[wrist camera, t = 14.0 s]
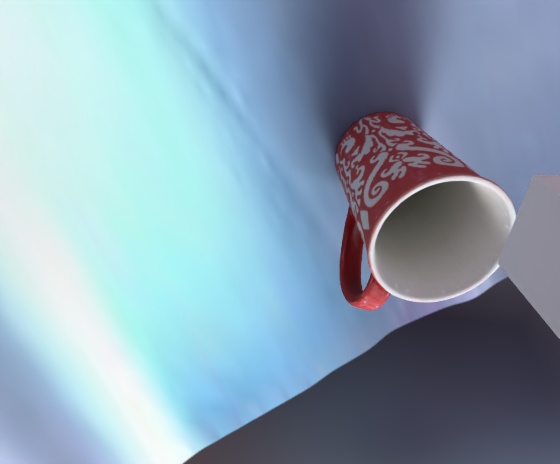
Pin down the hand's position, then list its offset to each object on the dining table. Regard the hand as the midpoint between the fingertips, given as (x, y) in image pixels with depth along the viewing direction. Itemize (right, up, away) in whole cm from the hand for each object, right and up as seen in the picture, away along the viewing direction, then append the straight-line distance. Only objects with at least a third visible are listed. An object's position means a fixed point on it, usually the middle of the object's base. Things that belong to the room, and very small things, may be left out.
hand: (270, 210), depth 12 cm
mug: (+7, +5, +30) cm, 31 cm away
